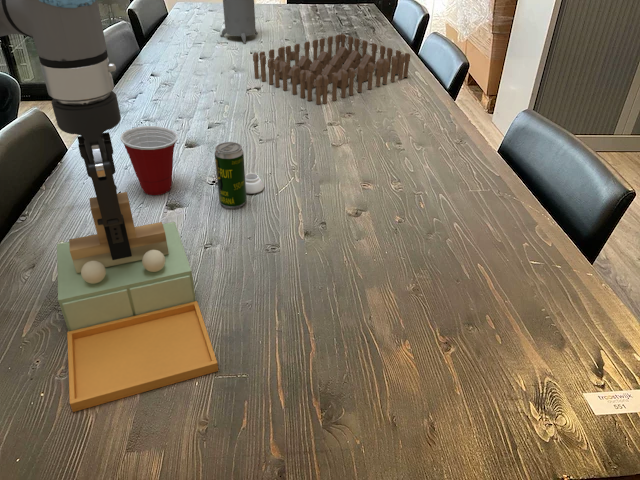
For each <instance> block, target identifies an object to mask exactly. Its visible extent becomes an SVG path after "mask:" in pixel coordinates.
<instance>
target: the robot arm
mask: <svg viewBox="0 0 640 480" xmlns="http://www.w3.org/2000/svg"><path fill="white" fill-rule="evenodd" d="M10 35H20V36H25V37H27V38H32V39H33V42H34V45H35V49H36V51H37V56H38V59H39V66H40V69H41V73H42V77H43V80H44V83H45V86H46V90H47V91H46V92H47V93H48V96H49V97H50V98H52V100H51V106H52V110H53V114H54V117H55V121H56V125H57V127H58V129H60V130H61V131H62V132H64V133H66V134H69V135H77V141H78V144H77V146H78V150H79V151H78V152H79V154H80V157H81V158H82V159H83V161H84V165H85V169H86V174H87V176H88V177H89V178H91V182H92V185H93V189H94V193H95V197H97V201H98V205H99V209H100V213H101V216H102V219H97V222H98V225H103V226H104V229H105V233H106V237H107V241H108V245H109V248H110V252H111V256H112V260H116V259H121V258H126V257H131V256H132V254H131V249H130V245H129V240H128V236H127V232H126V227H125V223H124V218H123V215H122V214H121V210H120V206H119V202H118V197H117V193H118V191H117V190H118V186H117V185H116V183H115V177H114V175H115V173H116V166H115V162H114V157H113V154H114V148H113V143H112V139H111V136H110V135H111V134H110V132H109V131H110V130H113V129H114V128H115V127H117V126H118V125H119V124H120V122H121V120H122V115H121V110H120V106H119V101H118V96H117V95H118V94H117V93H116V92H114V91H113V90H114V89H115V84H114V80H113V75H112V73H113V72H116V70H117V66H116V64H115V63H113V62H110V60H109V54H108V49H107V43H106V38H105V33H104V27H103V22H102V17H101V12H100V6H99V0H0V37H5V36H10ZM106 131H108V132H106Z"/></svg>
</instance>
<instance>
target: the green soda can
mask: <svg viewBox="0 0 640 480" xmlns="http://www.w3.org/2000/svg"><path fill="white" fill-rule="evenodd" d="M214 150H215V151H214V163H215V171H216V172H215V173H216V181H217V192H218V201H219V204H220V205H221V206H222V207H223V208H225V209H228V210H236V209H240V208H242V207H243V206H245V205H246V202H247V199H248V198H247V193H246V182H245V175H246V171H245V170H246V169H245V155H244V150H243V146H242V144H240V143H238V142H236V141H235V142H233V141H226V142H221V143H219V144H217V145H215V147H214Z"/></svg>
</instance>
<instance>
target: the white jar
mask: <svg viewBox="0 0 640 480" xmlns="http://www.w3.org/2000/svg"><path fill="white" fill-rule="evenodd" d="M245 182H246V194H258V193H260V192H261V191H263V190H264V188H265V184H264V182H263V181H262V179H261V178H260V176H259V175H258V173H255V172H248V173H245Z"/></svg>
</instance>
